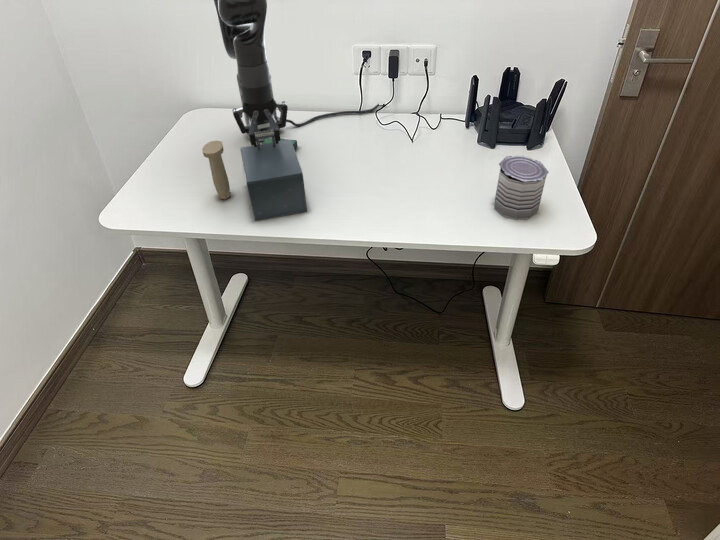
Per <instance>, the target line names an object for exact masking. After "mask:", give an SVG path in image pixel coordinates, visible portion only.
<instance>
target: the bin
mask: <svg viewBox="0 0 720 540" xmlns="http://www.w3.org/2000/svg"><path fill="white" fill-rule="evenodd" d="M247 190H248V195H249V200H250V205H251V210H252V214H253V219H254V222H258V221H262V220H263V221H264V220H267V219H274V218H279V217H284V216H289V215H290V216H291V215H295V214H300V213H307V212H308V207H307V206H308V205H307V197H306V190H305V181H304V175H303V176H297V177H291V178H285V179H279V180H273V181H268V182H262V183H256V184H250V185H247Z"/></svg>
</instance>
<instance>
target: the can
mask: <svg viewBox="0 0 720 540" xmlns="http://www.w3.org/2000/svg"><path fill="white" fill-rule="evenodd" d="M498 166H499V174H498V180H497V183H496V191H495V196H494V205H493V210H495V211H496V212H497V213H498V214H499V215H500V216H501V217H504V218H507V219H510V220H514V221H520V220H521V221H522V220H530V219H532V218H533V217H534V216H536V215H537V214H538V212H539V208H540V204H541V201H542V196H543V192H544V188H545V183H546V179H547V176H548V174H550V173H549V170H548V169H547V167H545V165H544V164H543V163H542V162H541V161H539V160H537V159H535V158H531V157H528V156H526V155H507V156H505V157H504V158H503V159H502V160H501V161H500V162H499V163H498Z"/></svg>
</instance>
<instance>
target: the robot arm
mask: <svg viewBox="0 0 720 540" xmlns="http://www.w3.org/2000/svg"><path fill="white" fill-rule="evenodd" d="M212 2H213V5H214V8H215V13H216V16H217V20H218V25H219V29H220V33H221V38H222V43H223V46H224V49H225V53H226V54H227V55H228V57H229V58H230V59H232V60H236V67H237V74H236V81H237V87H238V91H239V97H240V101H241V107H239V108H235V107H234V108H233V109H232V116H233V118H234V120H235V122H236V124H237V127H238V129H239V130H240V132H241V134H242V135H243V134H244V135H245V134H247V138H248V139H249V142H250V146H253V145H254V147H257V142H256V139H255V133H254V132H261V131H267V130H274V134H275V137H274V138H275V142H276V144H278V143H279V142H278V141H280V140H281V139H282V138H281V132H280V130H281V129H284V128H285V127H287V123H290V124H291V125H292V126H294V127H303V126H306V125H308V124H310V123H311V122H314V121H315V120H317V119H321V118H322V119H323V118H326V117H330V116H338V115H347V114H368V113H372V112H374V111H375V110H377V109H378V108H379V107H381V106H382V107H387V105H386V104H385V103H384V104H383V105H379V103H377V104H376V105H374V107H371V108H369V109H365V110H364V109H363V110H343V111H336V112H329V113H324V114H320V115H316V116H313V117H312V118H310V119H308V120H306V121H304V122H301V123H296V122H294V121H293V120H291V119H287V117H288V109H289V107H288V104H287V102H286V101H285V100H282V101H281V102H277V101H276V100H275V98H274V97H275V96H274V91H273V89H274V88H273V83H272V75H271V71H270V70H271V69H270V66H269V61H268V57H267V50H266V49H267V48H266V39H265V38H266V37H265V36H266V35H265V33H266V24H267V17H268V1H267V0H212ZM277 109H278V112H279V113H280V114H279V115H280V116H278V115H277ZM242 118H243V119H244V121H243V119H242ZM244 122H245V123H244ZM265 139H267V138H263V139H259V142H263V141H264V140H265ZM269 139H272V138H271V137H269Z"/></svg>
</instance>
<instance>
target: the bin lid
mask: <svg viewBox="0 0 720 540" xmlns="http://www.w3.org/2000/svg"><path fill="white" fill-rule="evenodd" d="M254 133H255V139H256V144H257V147H254V145H248V146H240V147H239V150H240V155H241V159H242V165H243V170H244V175H245V181H246V186H248V185H250V184H256V183H262V182H268V181H273V180H279V179H285V178H291V177H297V176H303V177H304V174H303V170H302V167H301V164H300V161H299V159H298V156H297V152H296V151H295V150H294V147H293V144H292V141H291V140H292V139H288V140H285V141H279V143H278V144H276V142H275V134H274V130H267V131H261V132H254ZM269 137H271V138H272V143H266V144H261V143H260V141H259V139H263V138H269Z"/></svg>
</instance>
